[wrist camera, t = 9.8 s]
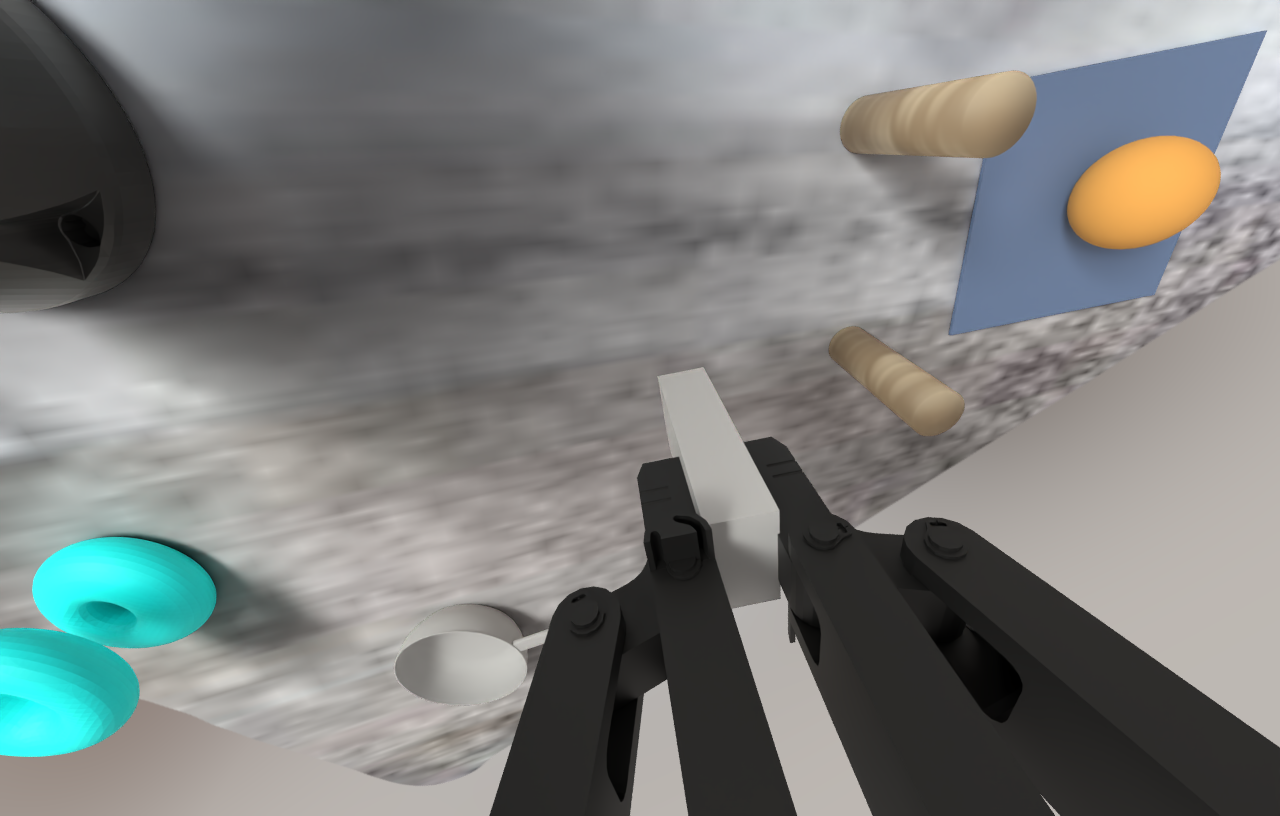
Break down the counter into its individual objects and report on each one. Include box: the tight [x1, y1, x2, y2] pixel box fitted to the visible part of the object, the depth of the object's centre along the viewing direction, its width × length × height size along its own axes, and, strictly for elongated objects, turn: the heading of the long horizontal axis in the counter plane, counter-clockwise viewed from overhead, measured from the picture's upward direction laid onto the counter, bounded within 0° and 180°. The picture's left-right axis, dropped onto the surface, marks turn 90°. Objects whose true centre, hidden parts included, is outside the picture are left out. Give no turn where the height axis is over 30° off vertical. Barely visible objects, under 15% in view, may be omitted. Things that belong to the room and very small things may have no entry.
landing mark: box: [949, 31, 1267, 335], centre depth 27 cm, size 14×14×1 cm
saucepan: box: [394, 604, 548, 706], centre depth 39 cm, size 11×18×4 cm, turn 115°
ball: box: [1067, 136, 1221, 249], centre depth 24 cm, size 6×6×6 cm
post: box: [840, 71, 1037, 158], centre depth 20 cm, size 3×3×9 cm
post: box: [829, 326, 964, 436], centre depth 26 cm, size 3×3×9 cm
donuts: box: [0, 537, 216, 757], centre depth 30 cm, size 10×10×10 cm
